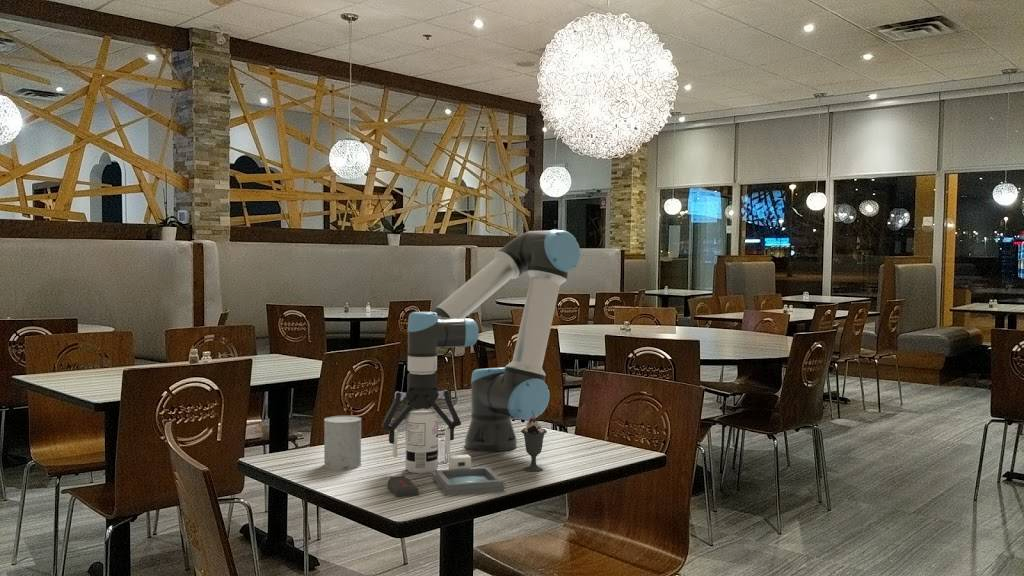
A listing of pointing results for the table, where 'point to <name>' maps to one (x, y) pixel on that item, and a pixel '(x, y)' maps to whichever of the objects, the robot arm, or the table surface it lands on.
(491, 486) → the charging dock
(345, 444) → the gray cylinder
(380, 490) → the table surface
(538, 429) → the sundae
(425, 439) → the supplement can
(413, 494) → the dark grey rounded block
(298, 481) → the table surface
